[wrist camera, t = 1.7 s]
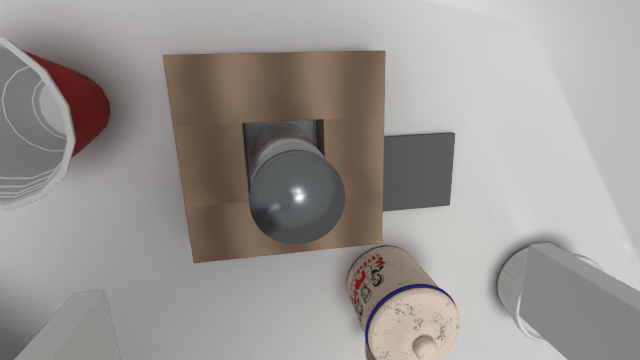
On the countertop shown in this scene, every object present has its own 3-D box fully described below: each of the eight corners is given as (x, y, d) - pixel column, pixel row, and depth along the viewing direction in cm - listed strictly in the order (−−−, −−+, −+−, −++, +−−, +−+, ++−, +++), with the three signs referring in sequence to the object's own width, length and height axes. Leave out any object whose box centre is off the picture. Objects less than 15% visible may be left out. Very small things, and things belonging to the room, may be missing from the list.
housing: (201, 243, 35) (193, 263, 31) (175, 58, 30) (162, 55, 26) (369, 227, 38) (381, 243, 34) (371, 54, 33) (385, 50, 29)
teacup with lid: (362, 234, 38) (403, 295, 27) (431, 254, 40) (496, 319, 29) (323, 324, 40) (347, 415, 29) (391, 339, 42) (436, 429, 31)
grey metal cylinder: (257, 181, 34) (253, 249, 20) (252, 125, 33) (244, 155, 19) (312, 177, 35) (345, 239, 21) (309, 122, 34) (344, 149, 19)
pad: (378, 209, 37) (380, 211, 37) (379, 136, 35) (381, 137, 35) (446, 203, 39) (449, 205, 38) (452, 132, 36) (455, 133, 36)
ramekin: (472, 301, 43) (500, 329, 38) (518, 223, 41) (553, 243, 36) (537, 324, 46) (571, 353, 41) (583, 253, 44) (625, 274, 39)
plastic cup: (2, 156, 30) (-156, 200, 19) (4, 28, 28) (-177, -12, 16) (135, 178, 32) (65, 229, 21) (147, 61, 30) (76, 46, 19)
